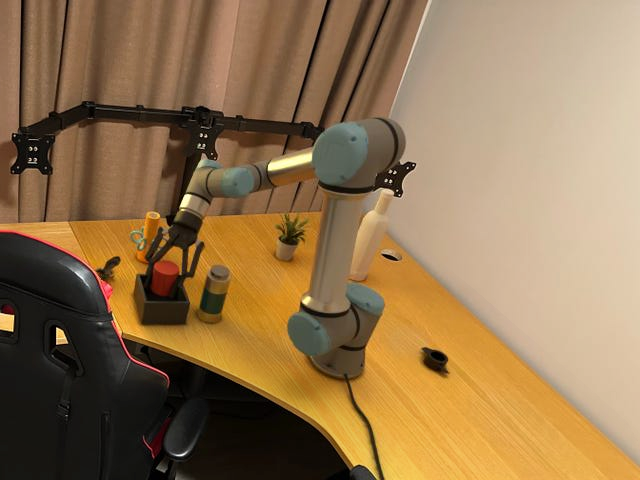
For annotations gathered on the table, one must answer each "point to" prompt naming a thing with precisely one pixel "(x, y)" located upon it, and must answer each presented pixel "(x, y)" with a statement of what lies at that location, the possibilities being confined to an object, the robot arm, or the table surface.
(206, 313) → the spray can
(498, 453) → the table surface
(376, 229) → the bottle
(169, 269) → the cap
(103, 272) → the eagle figurine
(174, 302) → the bin
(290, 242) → the house plant
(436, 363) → the black flanged ring
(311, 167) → the robot arm
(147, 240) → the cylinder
